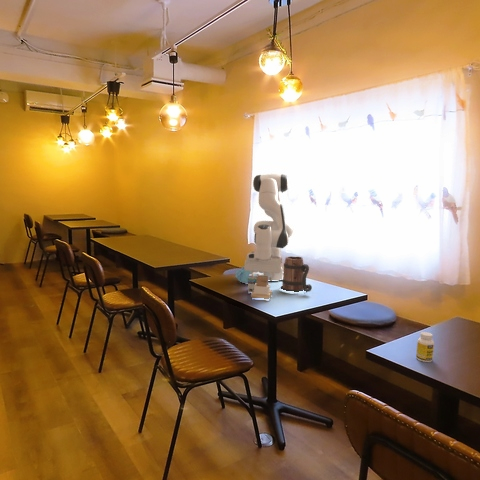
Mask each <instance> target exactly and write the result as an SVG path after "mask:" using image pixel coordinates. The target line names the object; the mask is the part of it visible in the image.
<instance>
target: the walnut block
mask: <svg viewBox="0 0 480 480" xmlns="http://www.w3.org/2000/svg"><path fill="white" fill-rule="evenodd" d="M268 284H269V282H268V276H267V275H258V276H257V280H256V286H263V287H267V285H268Z"/></svg>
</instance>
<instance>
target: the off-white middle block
mask: <svg viewBox="0 0 480 480" xmlns="http://www.w3.org/2000/svg"><path fill="white" fill-rule="evenodd" d="M270 288H271V283H268V285H267V287H263V286H256V283H255V285H254V294H269V291H270Z"/></svg>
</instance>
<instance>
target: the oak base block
mask: <svg viewBox="0 0 480 480" xmlns="http://www.w3.org/2000/svg"><path fill="white" fill-rule="evenodd" d="M271 295H272V296H273V290H270V291H269V294H254V290H253V292H252V293H251V294H250V298H251V297H252V298H264V299H269V298H270V297H271ZM271 298H272V297H271Z"/></svg>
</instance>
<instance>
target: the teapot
mask: <svg viewBox="0 0 480 480" xmlns="http://www.w3.org/2000/svg"><path fill="white" fill-rule="evenodd" d="M254 272H255V271H254ZM258 273H263V272H258ZM250 274H251V271H245V269H244V266H242V267H241V269H237V270H236V272H235V275H234V277H235V278H236V279H237V280H238V281H240V282H243V283H248V275H250ZM240 282H239V283H240Z"/></svg>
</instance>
